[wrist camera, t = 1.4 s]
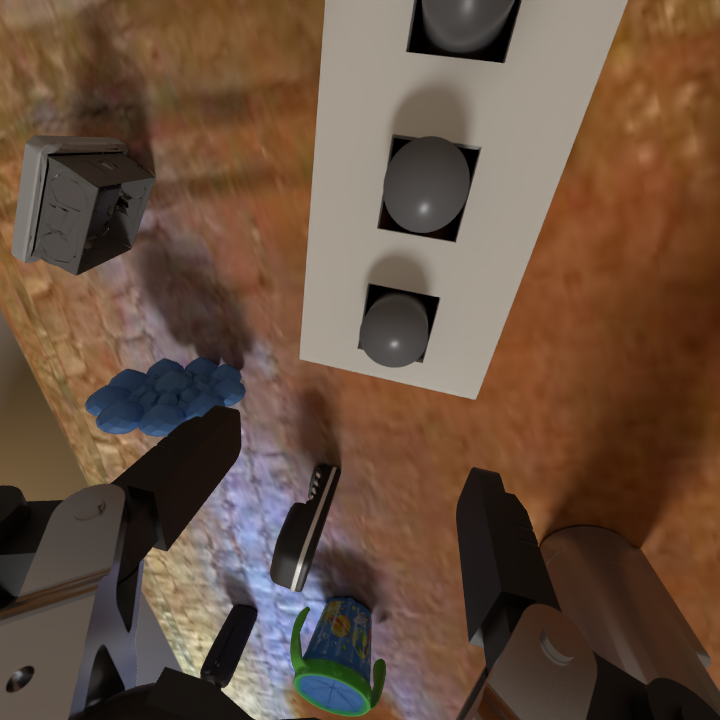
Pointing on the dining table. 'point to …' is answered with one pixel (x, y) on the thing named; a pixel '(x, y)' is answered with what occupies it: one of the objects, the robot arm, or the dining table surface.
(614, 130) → the dining table surface
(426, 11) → the knob
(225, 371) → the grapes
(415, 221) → the knob
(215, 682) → the two-way radio
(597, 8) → the knob panel
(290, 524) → the battery charger
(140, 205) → the electrical switch
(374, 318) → the knob
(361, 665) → the snack cup
